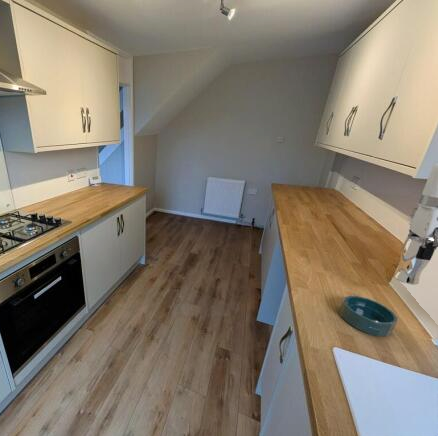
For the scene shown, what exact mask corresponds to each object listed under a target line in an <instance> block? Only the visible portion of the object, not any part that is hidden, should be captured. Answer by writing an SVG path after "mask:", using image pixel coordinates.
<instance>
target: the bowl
mask: <svg viewBox="0 0 438 436" xmlns="http://www.w3.org/2000/svg"><path fill="white" fill-rule="evenodd" d="M339 314H340V316H341V318H342V319H343V320H344V321H345V322H346V323H347V324H349V325H350V326H352V327H354V328H355V329H357V330H360V331H361V332H363V333H366V334H369V335H373V336H376V337H388V336H390V335H392V334H393V331H394V329H395V327H396V325H397V324H398V317H397V315H396V314H395V312H393V311H392V310H391V309H390V308H388V307H387V306H385V305H383V304H382V303H380V302H378V301H375V300H373V299H370V298H367V297H363V296H359V295H349V296H345V297H344V298H343V301H342V304H341V306H340V309H339Z"/></svg>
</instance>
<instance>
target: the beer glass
mask: <svg viewBox="0 0 438 436" xmlns="http://www.w3.org/2000/svg"><path fill="white" fill-rule="evenodd" d="M422 241H423V238H421V237H415V236H409V237H408V236H407V237H406V239H405V240H404V243H403V244H402V247H401V250H400V253H399V260H398V261H399V262H398V267H397V269H396V271H395V272H394V273H393V278H394V279H395V280H397V281H399V282H401V283H404V284H407V285H419V283H420V276H421V273H422V272H423V271H424V269H425V268H426V267H427V265H428V264H429V263H430V261H431V260H432V258H433V256H434V253H435V250H434V253H433V255H432V257H431V259H430V260H423V259H417V258H416V255H417V252H418V250H419V248H420V247H422ZM429 242H432V241H427V244H428V243H429Z"/></svg>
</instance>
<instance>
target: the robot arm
mask: <svg viewBox="0 0 438 436" xmlns="http://www.w3.org/2000/svg"><path fill="white" fill-rule="evenodd" d="M417 206H418V207H417V209H416V211H415V213H414V215H413V217H412V219H411V221H410V224H409V230H408V232H409V233H407V237H409V236H415V237H421V238H423V241H422V247H420V248H419V250H418V252H417V255H416V258H417V259H423V260H430V259H431V260H432V258H433V256H434V254H433V253H435V251H434V250H437V248H438V161H437V162H435V163H434V164H433V165H432V167H431V170H430V173H429V174H428V177H427V180H426V183H425V185H424V188H423V191H422V193H421V195H420V198H419V200H418V204H417ZM427 241H432V242H429V243H428V244H427ZM432 255H433V256H432ZM431 257H432V258H431ZM431 260H430V261H431Z"/></svg>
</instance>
